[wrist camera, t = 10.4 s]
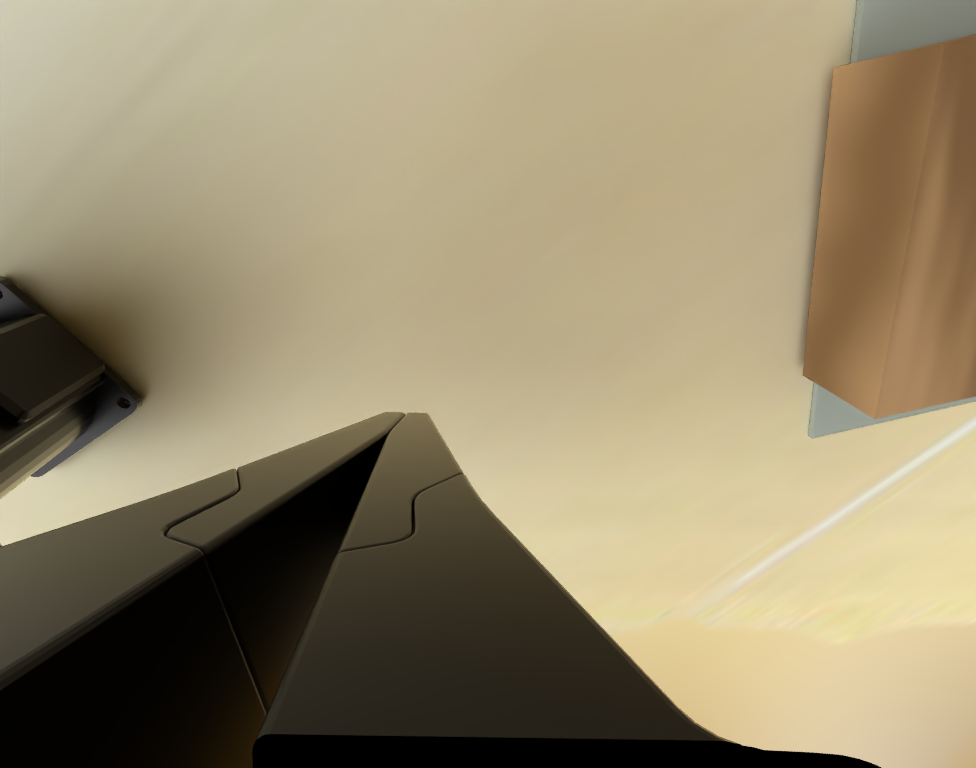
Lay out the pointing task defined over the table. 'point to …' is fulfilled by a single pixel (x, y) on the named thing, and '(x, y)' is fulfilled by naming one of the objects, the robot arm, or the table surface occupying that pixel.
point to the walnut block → (898, 233)
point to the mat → (877, 32)
